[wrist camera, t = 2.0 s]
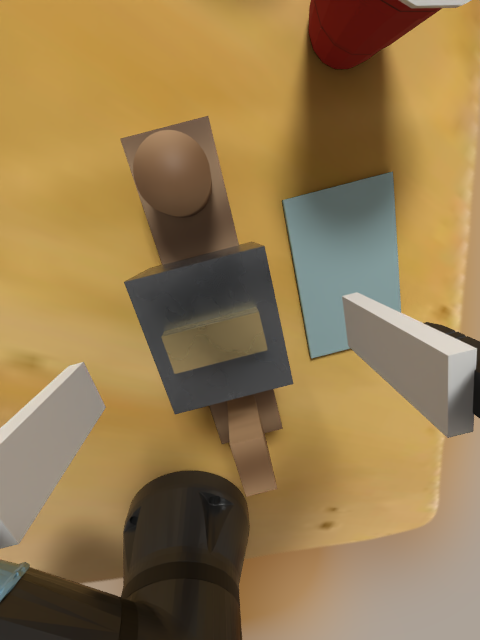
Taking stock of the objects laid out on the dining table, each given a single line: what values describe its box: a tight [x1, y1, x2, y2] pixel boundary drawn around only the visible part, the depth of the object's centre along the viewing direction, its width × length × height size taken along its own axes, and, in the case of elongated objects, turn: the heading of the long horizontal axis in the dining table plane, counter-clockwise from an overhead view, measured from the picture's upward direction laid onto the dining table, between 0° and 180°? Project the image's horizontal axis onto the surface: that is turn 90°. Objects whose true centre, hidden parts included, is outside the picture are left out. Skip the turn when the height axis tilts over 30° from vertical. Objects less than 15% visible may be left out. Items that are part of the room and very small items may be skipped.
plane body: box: [121, 116, 283, 497], centre depth 22 cm, size 26×6×11 cm, turn 14°
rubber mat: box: [282, 172, 401, 358], centre depth 27 cm, size 16×10×1 cm, turn 14°
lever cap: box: [124, 242, 293, 414], centre depth 19 cm, size 9×8×7 cm
